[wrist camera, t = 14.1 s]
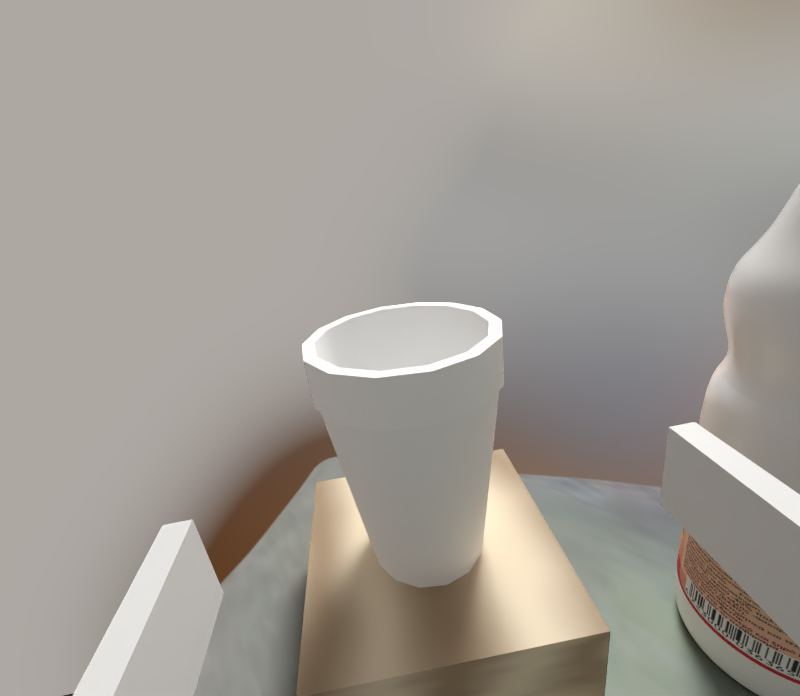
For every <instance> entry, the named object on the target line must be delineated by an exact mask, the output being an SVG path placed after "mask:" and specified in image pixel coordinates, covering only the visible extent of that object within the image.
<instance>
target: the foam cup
mask: <svg viewBox="0 0 800 696" xmlns="http://www.w3.org/2000/svg"><path fill="white" fill-rule="evenodd" d="M302 351H303V361H304V365H305V370H306V374H307V378H308V383H309V387H310V392H311V396H312V400H313V405H314V408H315V409H317V410H318V411H320V412H321V414H322V417H323V420H324V422H325V425H326V428H327V430H328V433H329V435H330V438H331V440H332V443H333V446H334V448H335V451H336V453H337V456H338V459H339V461H340V464H341V467H342V469H343V472H344V474H345V477H346V480H347V482H348V485H349V487H350V490H351V493H352V495H353V498H354V500H355V503H356V506H357V508H358V511H359V514H360V516H361V519H362V521H363V524H364V527H365V529H366V532H367V534H368V537H369V540H370V542H371V545H372V547H373V550H374V553H375V555H376V557H377V558H378V561H379V565H380V566H381V567H382V568H383V569H384V570H386V571H387V572H388V573H389V574H390V575H391V576H392V577H393V578H394V579H395V580H396V581H400V582H403V583H406V584H409V585H412V586H415V587H419V588H423V587H432V586H442V585H448V584H449V583H451V582H453V581H455V580H456V579H458V578H460V577H462V576H463V575H465V574H467V573H469V572H470V570H471V569H472V567H473V566H474V564H475V563H476V561H477V559H478V558H479V556H480V555H481V553H482V545H483V538H484V529H485V519H486V510H487V500H488V491H489V481H490V472H491V462H492V452H493V443H494V433H495V424H496V414H497V405H498V395H499V390H500V389H501V388H502V387H503V386H504V371H503V343H502V320H501V319H499V318H498V317H496V316H495V315H493V314H491V313H490V312H488V311H486V310H485V309H483V308H478V307H473V306H468V305H463V304H458V303H438V302H417V303H408V304H400V305H392V306H385V307H379V308H375V309H371V310H368V311H364V312H360V313H356V314H352V315H348V316H345V317H343V318H341V319H339V320H337V321H334V322H332V323H331V324H328V325H326V326H324V327H321V328H319V329H318V330H317V331H316V332H315V333H313V334H312V336H310V337H309V339H307V340H306V341H305V342H304V343H303V344H302Z"/></svg>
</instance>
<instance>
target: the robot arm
mask: <svg viewBox="0 0 800 696" xmlns="http://www.w3.org/2000/svg"><path fill="white" fill-rule="evenodd" d="M660 505H661V506H662V507H663V508H664V509H665V510H666V511H667V512H668V513H669V514H670V515H671V516H672V517H673V518H674V519H675V520H676V521H677V522H678V523H679V524H680V525H681V526H682V527H683V528H684V529H685V530H686V531H687V532H688V533H689V534H690V535H691V536H692V538H693V539H694V540H695V541H696V542H697V543H698V544H699V545H700V546H701V547H702V548H703V549H704V550H705V551H706V552H707V553H708V554H709V555H710V556H711V557H712V558H713V559H714V560H715V561H716V562H717V563H718V564H719V565H720V566H721V567H722V568H723V569H724V570H725V571H726V572H727V573H728V575H729V576H730V577H731V578H732V579H733V580H734V581H735V582H736V583H737V584H738V585H739V586H740V587H741V588H742V589H743V590H744V591H745V592H746V593H747V594H748V595H749V596H750V597H751V598H752V599H753V600H754V601H755V602H756V603H757V604H758V605H759V606H760V607H761V608H762V609H763V610H764V611H765V613H766V614H767V615H768V616H769V617H770V618H771V619H772V620H773V621H774V622H775V623H776V624H777V625H778V626H779V627H780V628H781V629H782V630H783V631H784V632H785V633H786V634H787V635H788V636H789V637H790V638H791V639H792V640H793V641H794V642H795V643H796V644H797V645H798V646H799V647H800V494H798V493H797V492H795V491H794V490H792V489H791V488H790V487H788V486H787V485H785V484H784V483H782V482H781V481H779V480H778V479H777V478H775V477H774V476H772V475H771V474H769V473H768V472H766V471H765V470H764V469H762V468H761V467H759V466H758V465H756V464H755V463H753V462H752V461H751V460H749V459H748V458H746V457H745V456H743V455H742V454H740V453H739V452H737V451H736V450H735V449H733V448H732V447H730V446H729V445H727V444H726V443H724V442H723V441H722V440H720V439H719V438H717V437H716V436H714V435H713V434H711V433H710V432H709V431H707V430H706V429H704V428H703V427H701V426H700V425H698V424H697V423H695V422H692V423H687V424H682V425H677V426H672V427H669V430H668V439H667V447H666V456H665V465H664V473H663V482H662V490H661V498H660ZM223 594H224V593H223V591H222V588H221V586H220V584H219V581H218V579H217V576H216V574H215V572H214V569H213V567H212V564H211V562H210V560H209V557H208V555H207V553H206V550H205V548H204V545H203V543H202V541H201V538H200V536H199V534H198V531H197V529H196V526H195V524H194V522H193V520H187V521H182V522H177V523H172V524H166V525H163V526H162V528H161V529H160V531H159V533H158V535H157V537H156V539H155V541H154V543H153V545H152V546H151V548H150V550H149V552H148V554H147V556H146V558H145V560H144V562H143V564H142V565H141V567H140V569H139V571H138V573H137V575H136V577H135V579H134V581H133V582H132V584H131V586H130V588H129V590H128V592H127V594H126V596H125V598H124V599H123V601H122V603H121V605H120V607H119V609H118V611H117V613H116V615H115V616H114V618H113V620H112V622H111V624H110V626H109V628H108V630H107V632H106V633H105V635H104V638H103V639H102V641H101V643H100V645H99V647H98V649H97V651H96V652H95V654H94V656H93V658H92V660H91V662H90V664H89V666H88V668H87V669H86V671H85V673H84V675H83V677H82V679H81V681H80V683H79V685H78V687H77V688H76V690H75V692H74V694H69V695H64V696H194V693H195V689H196V686H197V682H198V679H199V676H200V672H201V669H202V665H203V662H204V659H205V655H206V652H207V648H208V645H209V642H210V638H211V635H212V631H213V628H214V624H215V621H216V618H217V614H218V611H219V607H220V604H221V601H222V597H223Z"/></svg>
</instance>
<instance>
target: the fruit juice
mask: <svg viewBox="0 0 800 696" xmlns="http://www.w3.org/2000/svg"><path fill="white" fill-rule="evenodd" d="M724 319H725V325H726V330H727V335H728V342H729V348H728V353H727V355H726V357H725V359H724V360H723V361H722V363H721V364H720V365H719V366H718V367H717V369H716V370H715V372H714V374H713V375H712V378H711V380H710V382H709V385H708V389H707V392H706V395H705V399H704V403H703V407H702V412H701V417H700V424H699V425H700V426H701V427H703V428H704V429H706V430H707V431H709V432H710V433H711V434H713V435H714V436H716V437H717V438H719V439H720V440H722V441H723V442H724V443H726V444H727V445H729V446H730V447H732V448H733V449H735V450H736V451H737V452H739V453H740V454H742V455H743V456H745V457H746V458H748V459H749V460H751V461H752V462H753V463H755V464H756V465H758V466H759V467H761V468H762V469H764V470H765V471H766V472H768V473H769V474H771V475H772V476H774V477H775V478H777V479H778V480H779V481H781V482H782V483H784V484H785V485H787V486H788V487H790V488H791V489H792V490H794V491H795V492H797V493H798V494H800V183H799V185H798V186H797V188H796V190H795V191H794V193H793V194H792V196H791V198H790V199H789V201H788V202H787V204H786V205H785V207H784V208H783V210H782V211H781V213H780V214H779V216H778V217H777V219H776V220H775V222H774V223H773V224H772V225H771V227H770V228H769V229H768V231H767V232H766V233H765V234H764V235H763V236H762V237H761V238H760V240H758V241H757V243H756V244H755V245H754V246H753V247H752V248H751V249H750V250H749V251H748V252H747V253H746V254H745V255H744V256H743V257H742V258H741V259H740V261H739V262H738V264H737V265H736V267H735V268H734V270H733V272H732V275H731V277H730V279H729V282H728V286H727V290H726V293H725V298H724ZM675 597H676V602H677V606H678V609H679V612H680V615H681V617H682V620H683V622H684V624H685V626H686V627H687V629H688V631H689V632H690V634H691V636H692V637H693V638H694V640H695V641H696V643H697V644H698V645H699V646H700V648H701V649H702V650H703V651H704V652H705V653H706V654H707V655H708V657H709V658H710V659H711V660H712V661H713V662H714V663H715V664H717V665H718V666H719V667H720V668H721V669H722V670H723V671H724V672H726V673H727V674H728V675H729V676H731V677H732V678H733V679H735V680H736V681H737V682H739V683H740V684H741V685H743V686H744V687H746V688H747V689H749V690H751V691H752V692H754V693H755V694H757V695H759V696H800V647H799V646H798V645H797V644H796V643H795V642H794V641H793V640H792V639H791V638H790V637H789V636H788V635H787V634H786V633H785V632H784V631H783V630H782V629H781V628H780V627H779V626H778V625H777V624H776V623H775V622H774V621H773V620H772V619H771V618H770V617H769V616H768V615H767V614H766V613H765V611H764V610H763V609H762V608H761V607H760V606H759V605H758V604H757V603H756V602H755V601H754V600H753V599H752V598H751V597H750V596H749V595H748V594H747V593H746V592H745V591H744V590H743V589H742V588H741V587H740V586H739V585H738V584H737V583H736V582H735V581H734V580H733V579H732V578H731V577H730V576H729V575H728V573H727V572H726V571H725V570H724V569H723V568H722V567H721V566H720V565H719V564H718V563H717V562H716V561H715V560H714V559H713V558H712V557H711V556H710V555H709V554H708V553H707V552H706V551H705V550H704V549H703V548H702V547H701V546H700V545H699V544H698V543H697V542H696V541H695V540H694V539H693V538H692V536H691V535H690V534H689V533H688V532H687V531H686V530H685V529H684V528H683V529H682V535H681V541H680V548H679V554H678V560H677V566H676V572H675Z"/></svg>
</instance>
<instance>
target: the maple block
mask: <svg viewBox="0 0 800 696" xmlns="http://www.w3.org/2000/svg"><path fill="white" fill-rule="evenodd" d="M609 642H610V630H609V628H608V626H607V625H606V623H605V621H604V619H603V618H602V616H601V614H600V613H599V611H598V609H597V608H596V606H595V604H594V603H593V601H592V599H591V597H590V596H589V594H588V592H587V591H586V589H585V587H584V586H583V584H582V582H581V581H580V579H579V577H578V575H577V574H576V572H575V570H574V569H573V567H572V565H571V564H570V562H569V560H568V558H567V557H566V555H565V553H564V552H563V550H562V548H561V547H560V545H559V543H558V542H557V540H556V538H555V536H554V535H553V533H552V531H551V530H550V528H549V526H548V525H547V523H546V521H545V519H544V518H543V516H542V514H541V513H540V511H539V509H538V508H537V506H536V504H535V503H534V501H533V499H532V497H531V496H530V494H529V492H528V491H527V489H526V487H525V486H524V484H523V482H522V480H521V479H520V477H519V475H518V474H517V472H516V470H515V469H514V467H513V465H512V464H511V462H510V460H509V459H508V457H507V455H506V453H505V452H504V450H503V449H500V450H495V451H493V452H492V462H491V472H490V481H489V491H488V500H487V510H486V519H485V529H484V538H483V545H482V553H481V555H480V556H479V558H478V559H477V561H476V563H475V564H474V566H473V567H472V569H471V570H470V572H469V573H467V574H465V575H463V576H462V577H460V578H458V579H456V580H455V581H453V582H451V583H449V584H448V585H442V586H432V587H423V588H419V587H415V586H412V585H409V584H406V583H403V582H400V581H396V580H395V579H394V578H393V577H392V576H391V575H390V574H389V573H388V572H387V571H386V570H384V569H383V568H382V567H381V566H380V565H379V561H378V558H377V557H376V555H375V553H374V550H373V547H372V545H371V542H370V540H369V537H368V534H367V532H366V529H365V527H364V524H363V521H362V519H361V516H360V514H359V511H358V508H357V506H356V503H355V500H354V498H353V495H352V493H351V490H350V487H349V485H348V482H347V480H346V477H344V478H338V479H333V480H327V481H322V482H316V490H315V501H314V511H313V522H312V532H311V543H310V553H309V564H308V574H307V585H306V595H305V606H304V616H303V627H302V637H301V648H300V658H299V668H298V679H297V689H296V696H605V685H606V674H607V663H608V653H609Z"/></svg>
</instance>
